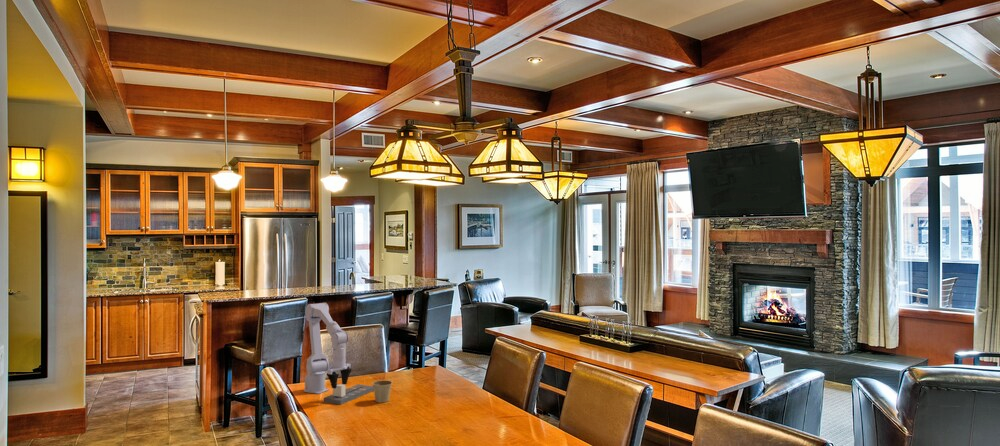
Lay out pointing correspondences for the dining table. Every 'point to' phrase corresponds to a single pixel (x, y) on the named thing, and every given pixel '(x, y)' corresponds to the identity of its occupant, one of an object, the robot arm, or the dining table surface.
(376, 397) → the flower pot
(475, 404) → the dining table surface
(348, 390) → the console
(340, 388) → the fader
